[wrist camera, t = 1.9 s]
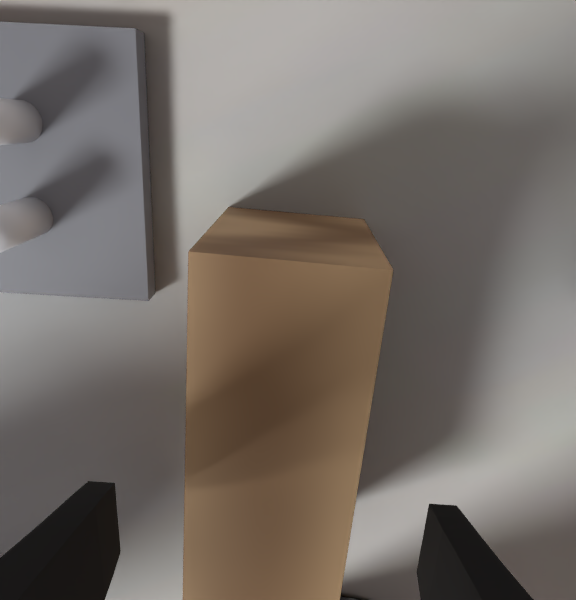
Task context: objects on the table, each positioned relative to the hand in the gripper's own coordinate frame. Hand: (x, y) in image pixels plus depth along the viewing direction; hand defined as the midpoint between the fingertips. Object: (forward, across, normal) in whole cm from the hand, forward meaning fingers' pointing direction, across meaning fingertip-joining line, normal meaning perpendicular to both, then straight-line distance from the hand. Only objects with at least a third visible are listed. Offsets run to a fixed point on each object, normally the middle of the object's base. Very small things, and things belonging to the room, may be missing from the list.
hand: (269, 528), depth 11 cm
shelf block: (+7, 0, 0) cm, 7 cm away
